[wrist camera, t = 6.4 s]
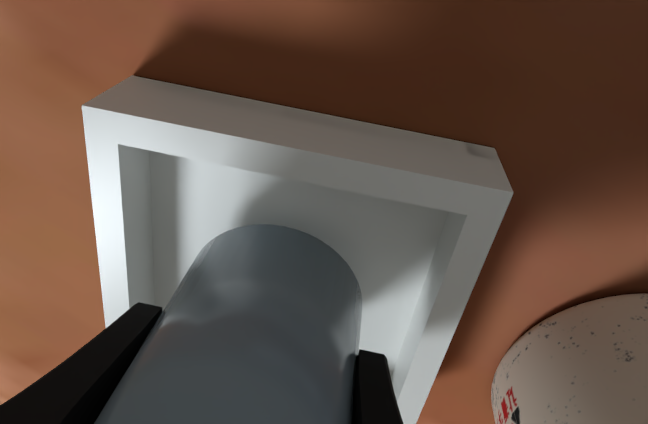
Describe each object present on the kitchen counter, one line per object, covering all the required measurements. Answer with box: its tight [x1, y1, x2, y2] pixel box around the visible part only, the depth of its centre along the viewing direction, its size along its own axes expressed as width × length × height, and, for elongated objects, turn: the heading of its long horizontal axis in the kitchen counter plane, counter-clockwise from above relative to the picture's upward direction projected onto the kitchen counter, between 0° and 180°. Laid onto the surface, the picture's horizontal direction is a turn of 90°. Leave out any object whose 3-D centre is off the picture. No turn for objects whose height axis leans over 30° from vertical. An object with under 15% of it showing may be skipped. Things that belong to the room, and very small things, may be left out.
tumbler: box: [94, 224, 362, 424], centre depth 11 cm, size 5×5×7 cm
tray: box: [82, 76, 514, 424], centre depth 15 cm, size 10×10×2 cm
